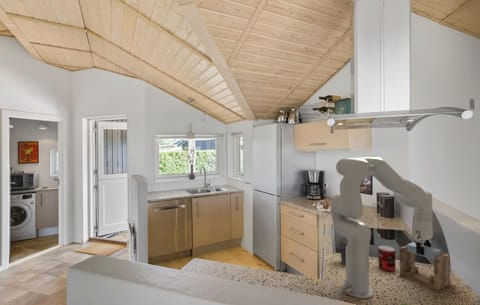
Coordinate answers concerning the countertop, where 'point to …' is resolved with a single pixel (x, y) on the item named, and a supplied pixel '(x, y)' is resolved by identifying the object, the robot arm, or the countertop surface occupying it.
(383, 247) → the canned food
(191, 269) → the countertop surface
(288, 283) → the countertop surface
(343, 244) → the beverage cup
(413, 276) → the peg shelf
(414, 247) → the light blue block
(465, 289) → the countertop surface
